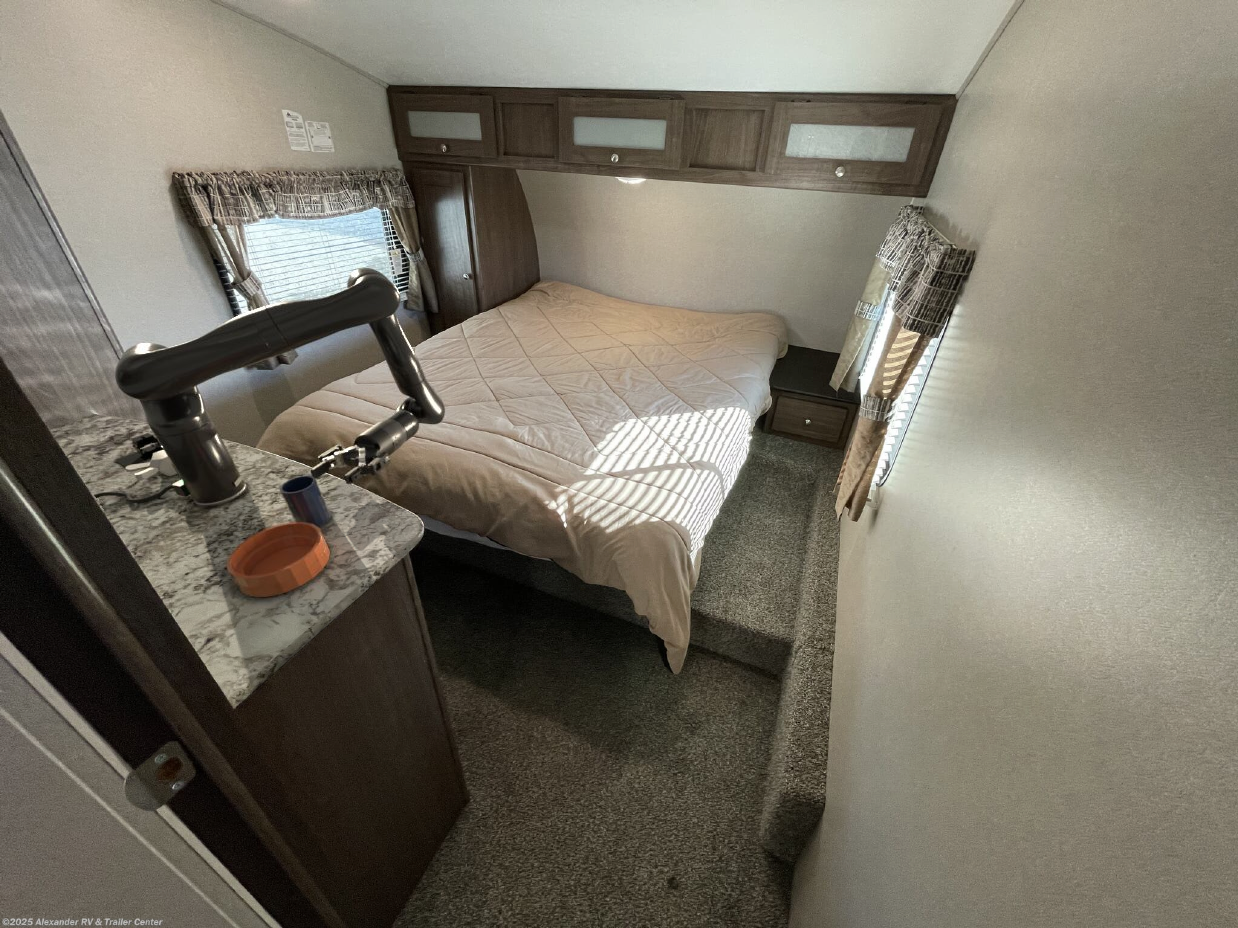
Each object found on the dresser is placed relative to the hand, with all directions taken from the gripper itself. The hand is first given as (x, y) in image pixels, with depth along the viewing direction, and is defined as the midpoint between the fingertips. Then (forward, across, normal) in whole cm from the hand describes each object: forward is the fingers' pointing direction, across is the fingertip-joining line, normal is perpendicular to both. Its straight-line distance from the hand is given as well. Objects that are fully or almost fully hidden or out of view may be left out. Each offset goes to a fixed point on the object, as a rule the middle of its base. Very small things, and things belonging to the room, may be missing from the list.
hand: (329, 477), depth 101 cm
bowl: (+19, +6, +6) cm, 21 cm away
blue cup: (+7, 0, +6) cm, 9 cm away
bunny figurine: (0, -47, +6) cm, 47 cm away
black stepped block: (-5, -62, +6) cm, 63 cm away
